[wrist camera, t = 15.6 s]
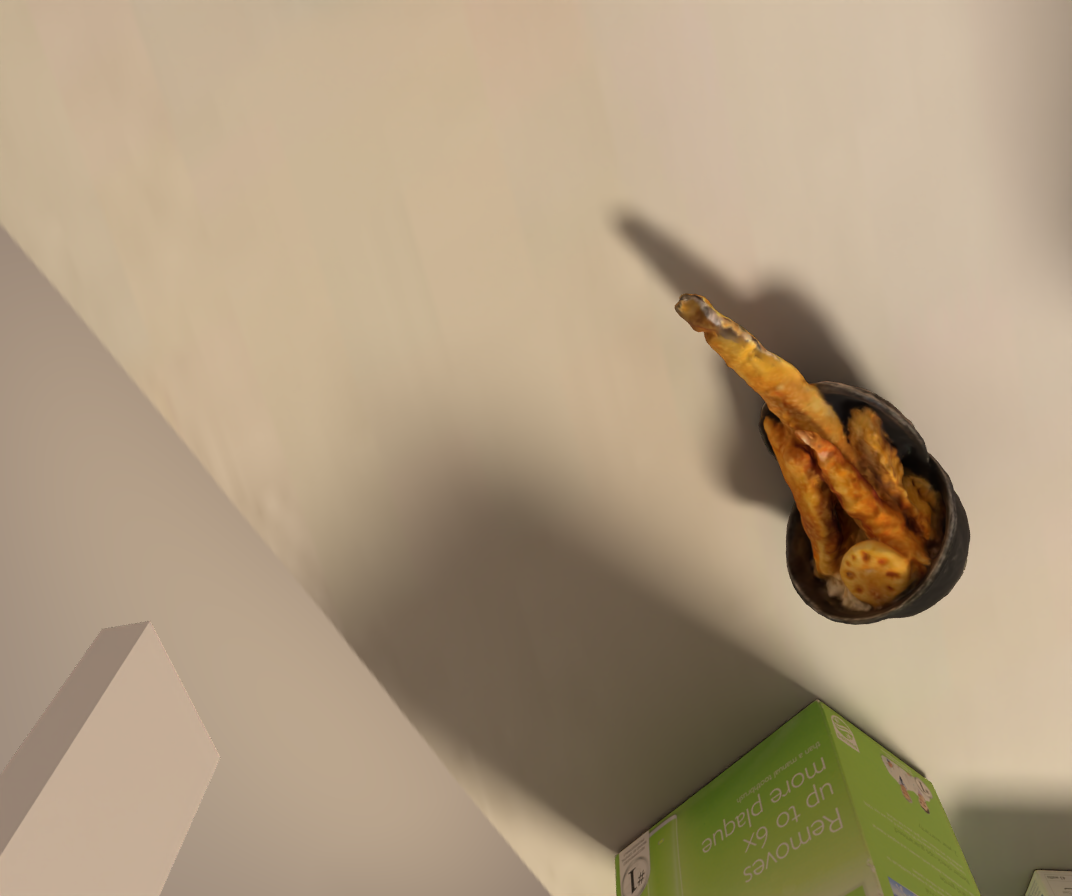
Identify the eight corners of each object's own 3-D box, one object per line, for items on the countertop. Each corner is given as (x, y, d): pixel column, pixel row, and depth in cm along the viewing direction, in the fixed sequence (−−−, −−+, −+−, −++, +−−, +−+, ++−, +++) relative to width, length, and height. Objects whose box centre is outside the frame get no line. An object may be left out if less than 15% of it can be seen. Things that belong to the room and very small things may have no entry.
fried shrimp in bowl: (872, 675, 47) (595, 573, 38) (837, 482, 53) (591, 353, 44) (1056, 619, 41) (779, 481, 31) (993, 408, 47) (745, 240, 37)
